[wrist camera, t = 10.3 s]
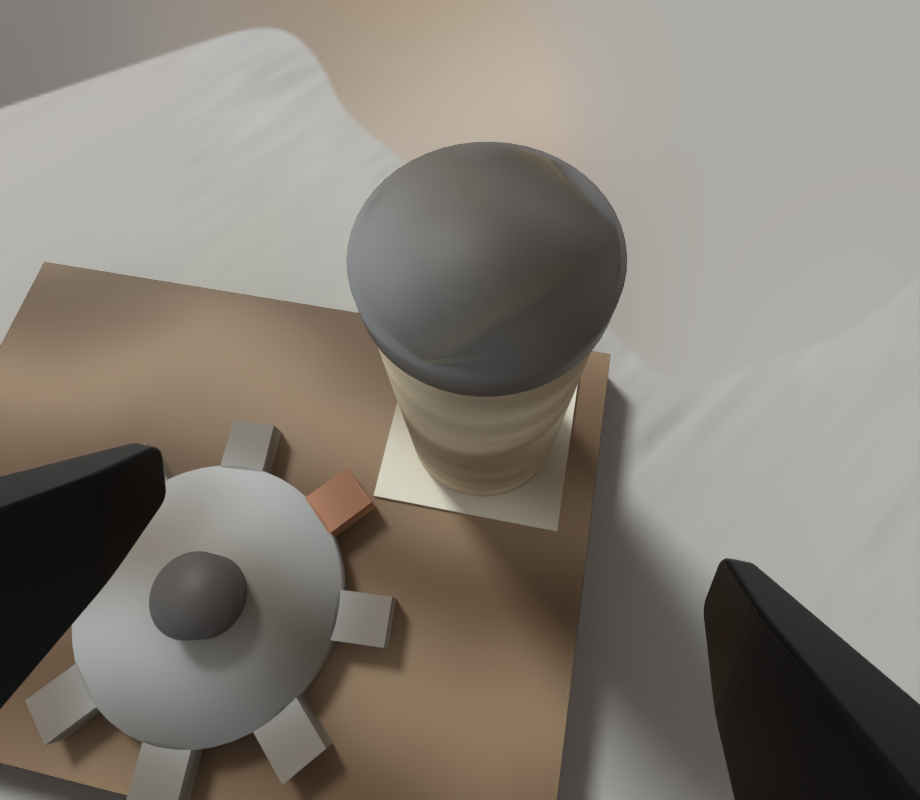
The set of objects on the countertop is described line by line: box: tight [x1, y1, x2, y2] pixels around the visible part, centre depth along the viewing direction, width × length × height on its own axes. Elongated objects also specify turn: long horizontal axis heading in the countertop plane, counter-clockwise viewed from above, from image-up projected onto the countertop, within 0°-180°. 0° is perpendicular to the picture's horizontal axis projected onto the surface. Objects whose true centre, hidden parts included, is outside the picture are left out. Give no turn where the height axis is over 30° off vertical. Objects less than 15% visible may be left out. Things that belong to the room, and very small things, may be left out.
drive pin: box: [347, 142, 627, 496], centre depth 15 cm, size 5×5×10 cm
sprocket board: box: [0, 262, 611, 800], centre depth 19 cm, size 16×22×3 cm
